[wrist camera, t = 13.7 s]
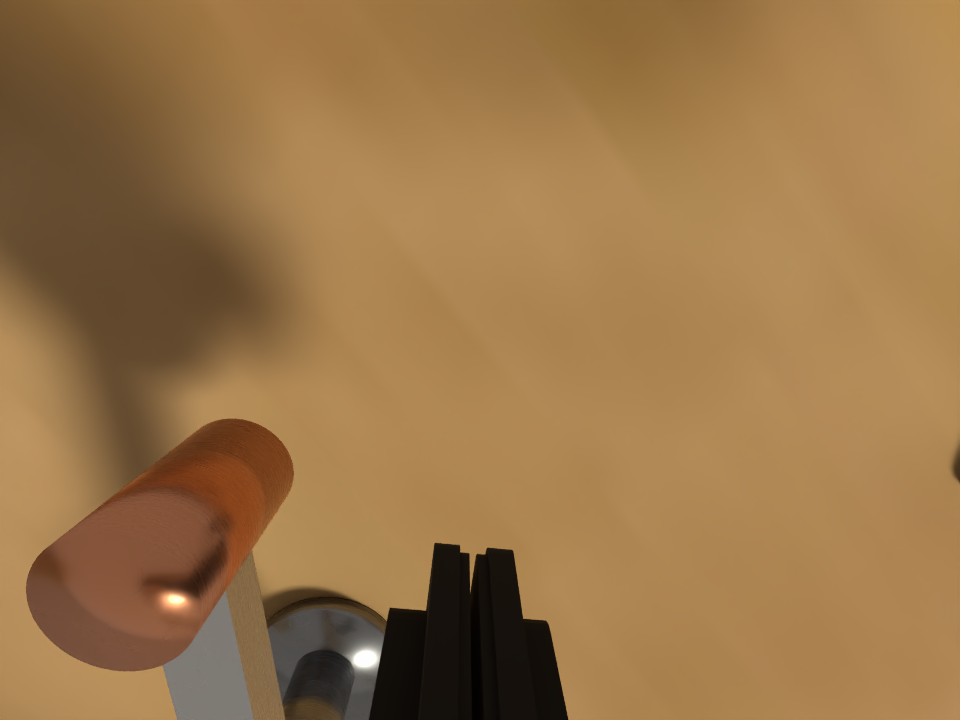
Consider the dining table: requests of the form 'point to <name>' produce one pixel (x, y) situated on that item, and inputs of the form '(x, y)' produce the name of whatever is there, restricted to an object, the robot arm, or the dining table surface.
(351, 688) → the lever post
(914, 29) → the dining table surface
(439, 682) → the robot arm
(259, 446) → the press lever
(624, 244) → the dining table surface
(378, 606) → the dining table surface
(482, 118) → the dining table surface
